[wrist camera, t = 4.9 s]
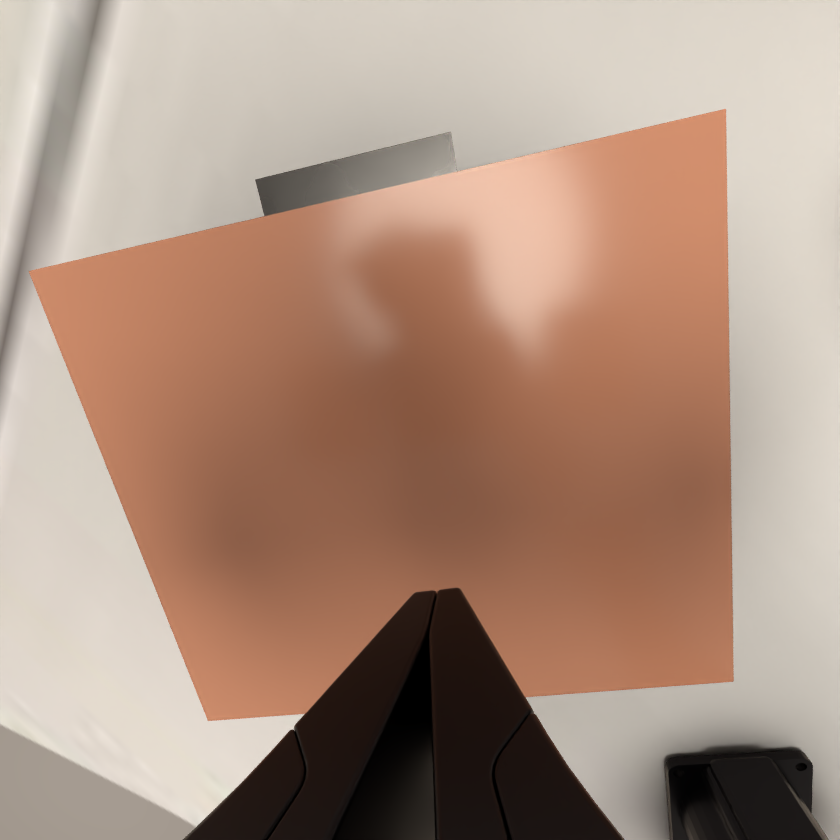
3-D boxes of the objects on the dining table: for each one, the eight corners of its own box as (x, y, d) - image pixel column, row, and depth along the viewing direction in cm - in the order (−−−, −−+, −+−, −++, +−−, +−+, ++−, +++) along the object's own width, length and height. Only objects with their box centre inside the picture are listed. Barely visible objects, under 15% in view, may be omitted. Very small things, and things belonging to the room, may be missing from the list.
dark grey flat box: (654, 566, 21) (712, 649, 16) (275, 607, 23) (225, 690, 18) (622, 127, 16) (689, 59, 11) (159, 236, 19) (55, 217, 14)
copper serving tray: (713, 652, 16) (733, 681, 15) (224, 693, 18) (208, 721, 17) (699, 126, 11) (725, 109, 10) (64, 271, 14) (28, 271, 13)
